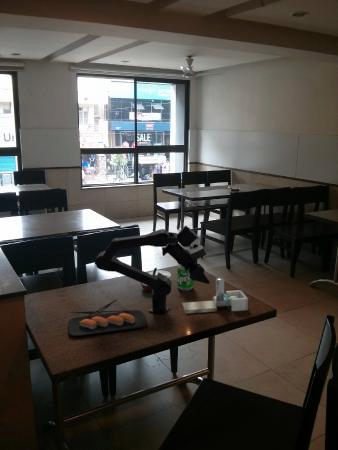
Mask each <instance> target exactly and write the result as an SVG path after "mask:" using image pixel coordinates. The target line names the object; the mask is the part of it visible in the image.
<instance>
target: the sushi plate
mask: <svg viewBox="0 0 338 450" xmlns="http://www.w3.org/2000/svg"><path fill="white" fill-rule="evenodd" d="M117 300H118V299H114V300H113V301H110V302H109V303H108V304H106V305H103V306H102V307H100V308H99V309H97V310H90V311H71V312H70V313H73V314H76V313H77V314H88V315H85V316H77V317H72V318H70V319H69V320H68V322H67V323H68V324H67V325H68V327H67V328H68V333H69V335H70V336H72V337H81V336H82V337H83V336H89V335H96V334H98V335H99V334H105V333H106V334H107V333H113V332H120V331H126V330H134V329H140V328H144V327H147V325H148V321H147V318H146V316H145V314H144V313H143V311H142V310H138V309H134V310H129V309H125V310H124V309H123V310H103V309H105V308H107V307H109V306H110V305H112V304H113V303H115V302H116V301H117ZM95 313H96V314H95ZM97 313H99V314H97Z"/></svg>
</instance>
